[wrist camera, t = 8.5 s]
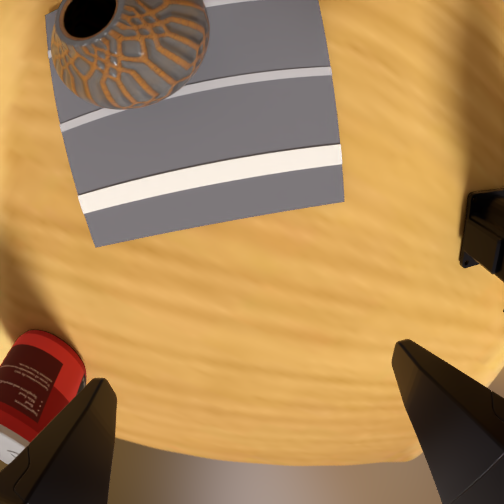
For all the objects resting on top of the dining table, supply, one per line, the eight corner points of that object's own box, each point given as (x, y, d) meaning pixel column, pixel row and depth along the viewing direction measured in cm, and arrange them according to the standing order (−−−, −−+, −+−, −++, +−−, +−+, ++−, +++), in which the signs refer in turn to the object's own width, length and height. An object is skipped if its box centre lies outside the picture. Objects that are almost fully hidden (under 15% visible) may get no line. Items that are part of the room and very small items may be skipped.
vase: (145, 131, 16) (81, 163, 8) (71, 58, 13) (-25, 46, 6) (238, 48, 15) (253, 1, 7) (158, -25, 12) (114, -100, 4)
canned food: (56, 393, 26) (26, 478, 16) (5, 338, 23) (-44, 422, 13) (105, 380, 25) (78, 483, 15) (49, 316, 22) (-8, 419, 12)
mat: (304, -42, 12) (307, -46, 12) (341, 198, 19) (344, 202, 19) (49, 16, 12) (44, 15, 12) (98, 243, 19) (95, 248, 19)
